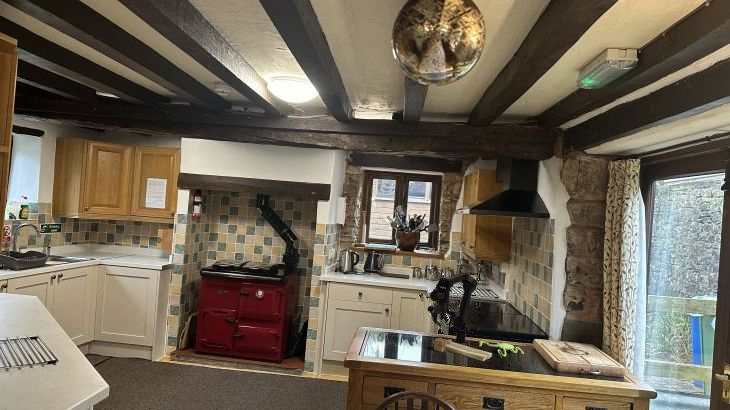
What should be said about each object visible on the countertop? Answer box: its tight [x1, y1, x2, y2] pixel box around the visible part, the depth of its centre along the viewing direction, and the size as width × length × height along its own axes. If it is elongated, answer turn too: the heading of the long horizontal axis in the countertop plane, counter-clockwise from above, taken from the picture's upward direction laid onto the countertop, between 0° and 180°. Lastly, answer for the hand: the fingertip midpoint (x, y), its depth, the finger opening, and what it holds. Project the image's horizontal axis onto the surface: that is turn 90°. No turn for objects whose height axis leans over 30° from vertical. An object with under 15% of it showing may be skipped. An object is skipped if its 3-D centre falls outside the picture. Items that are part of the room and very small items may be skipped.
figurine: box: [478, 340, 525, 359], centre depth 279 cm, size 18×26×6 cm
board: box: [446, 341, 493, 362], centre depth 271 cm, size 12×28×2 cm, turn 52°
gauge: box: [433, 337, 453, 353], centre depth 274 cm, size 16×5×6 cm, turn 142°
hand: (442, 325), depth 280 cm, fingers open, 9 cm apart
